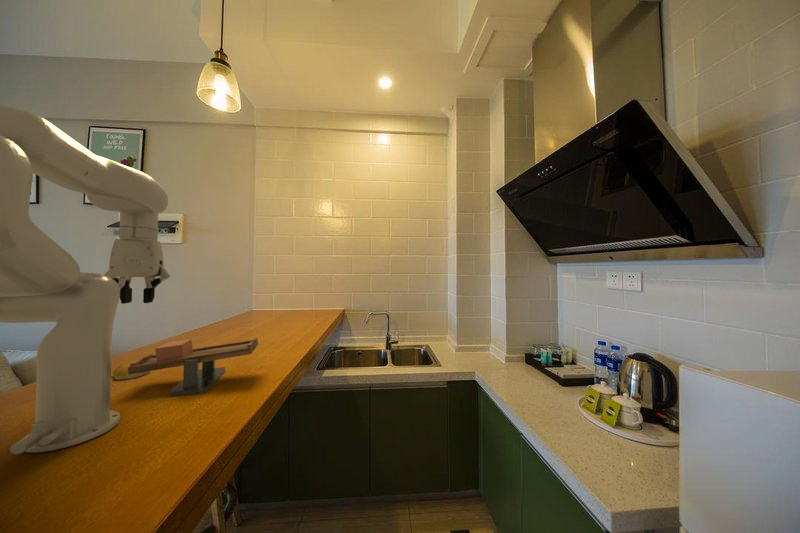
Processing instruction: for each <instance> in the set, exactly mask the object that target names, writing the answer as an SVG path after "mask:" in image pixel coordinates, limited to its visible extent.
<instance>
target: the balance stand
mask: <svg viewBox="0 0 800 533" xmlns="http://www.w3.org/2000/svg"><path fill="white" fill-rule="evenodd" d="M215 362H216V360H213V361H207V362H201V363H202V365H201V368H200V369H199V364H200V363H199V359H192V360H185V361H184V365H183V372H182V373H183V375H182V376H183V378H182V379H183V380H181V382H178V384H176V385H175V387H173V388H172V389H171V390H170V391H169V392H168V397H170V398H171V397H179V396H180V397H181V396H189V395H190V396H191V395H198V394H206V393H207V392H208V391H209V390H210V389H211V388H212V386H213V385H214V384H215V383H216V382H217V381H218V380H219V379H220V378H221V377H222V375H223V374H224V373H225V371H226V367H225V366H224V367H216V365H215V364H216V363H215Z"/></svg>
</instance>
